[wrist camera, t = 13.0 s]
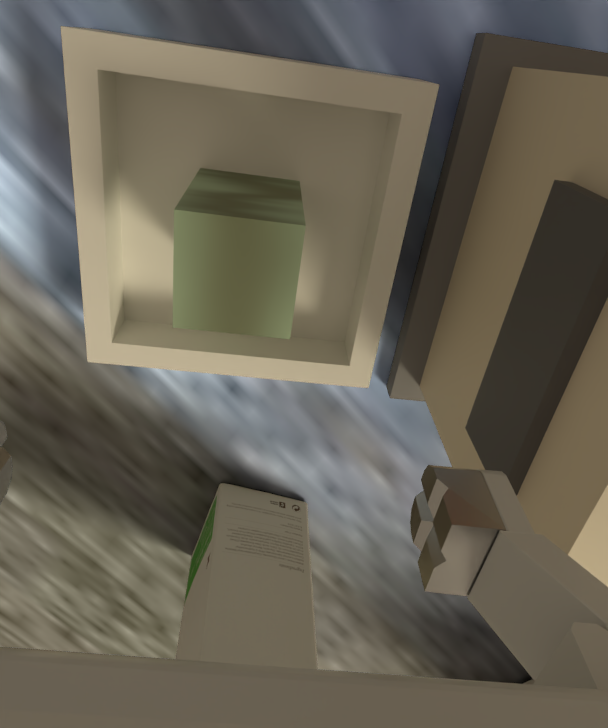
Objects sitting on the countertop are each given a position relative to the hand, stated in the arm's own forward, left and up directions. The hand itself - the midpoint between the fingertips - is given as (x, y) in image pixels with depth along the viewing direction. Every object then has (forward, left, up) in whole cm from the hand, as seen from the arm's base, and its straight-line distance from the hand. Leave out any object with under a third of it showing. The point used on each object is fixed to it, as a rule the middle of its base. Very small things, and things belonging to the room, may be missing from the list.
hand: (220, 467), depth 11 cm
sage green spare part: (0, 0, -17) cm, 17 cm away
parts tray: (0, 0, -18) cm, 18 cm away
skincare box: (-2, +22, -19) cm, 29 cm away
